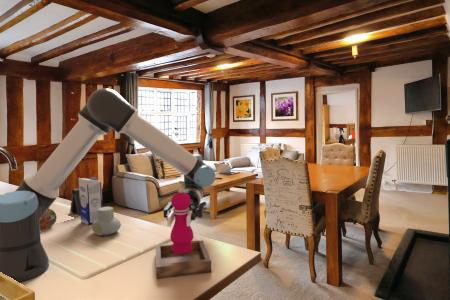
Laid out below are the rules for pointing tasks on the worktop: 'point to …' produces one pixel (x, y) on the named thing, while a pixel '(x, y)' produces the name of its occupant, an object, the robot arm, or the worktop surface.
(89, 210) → the milk carton
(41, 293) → the worktop surface
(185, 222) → the pepper mill
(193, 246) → the walnut tray
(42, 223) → the tin
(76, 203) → the door stopper
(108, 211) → the air freshener
